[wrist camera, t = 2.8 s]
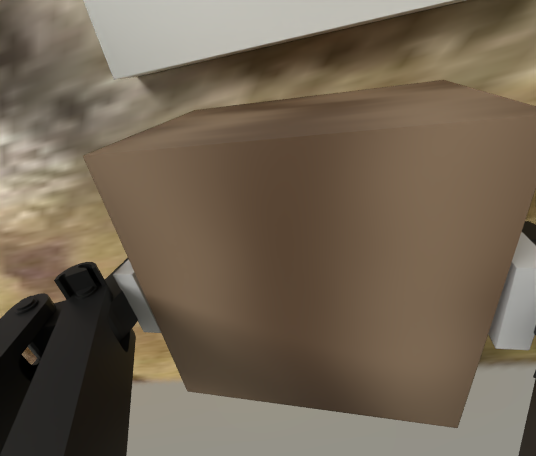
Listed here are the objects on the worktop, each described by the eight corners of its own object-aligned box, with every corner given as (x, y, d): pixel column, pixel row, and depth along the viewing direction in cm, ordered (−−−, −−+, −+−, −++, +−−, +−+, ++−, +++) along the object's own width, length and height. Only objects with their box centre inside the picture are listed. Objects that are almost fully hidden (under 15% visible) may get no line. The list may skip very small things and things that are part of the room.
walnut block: (236, 281, 18) (187, 391, 12) (195, 109, 13) (82, 155, 8) (414, 287, 16) (457, 428, 10) (442, 79, 11) (559, 113, 5)
